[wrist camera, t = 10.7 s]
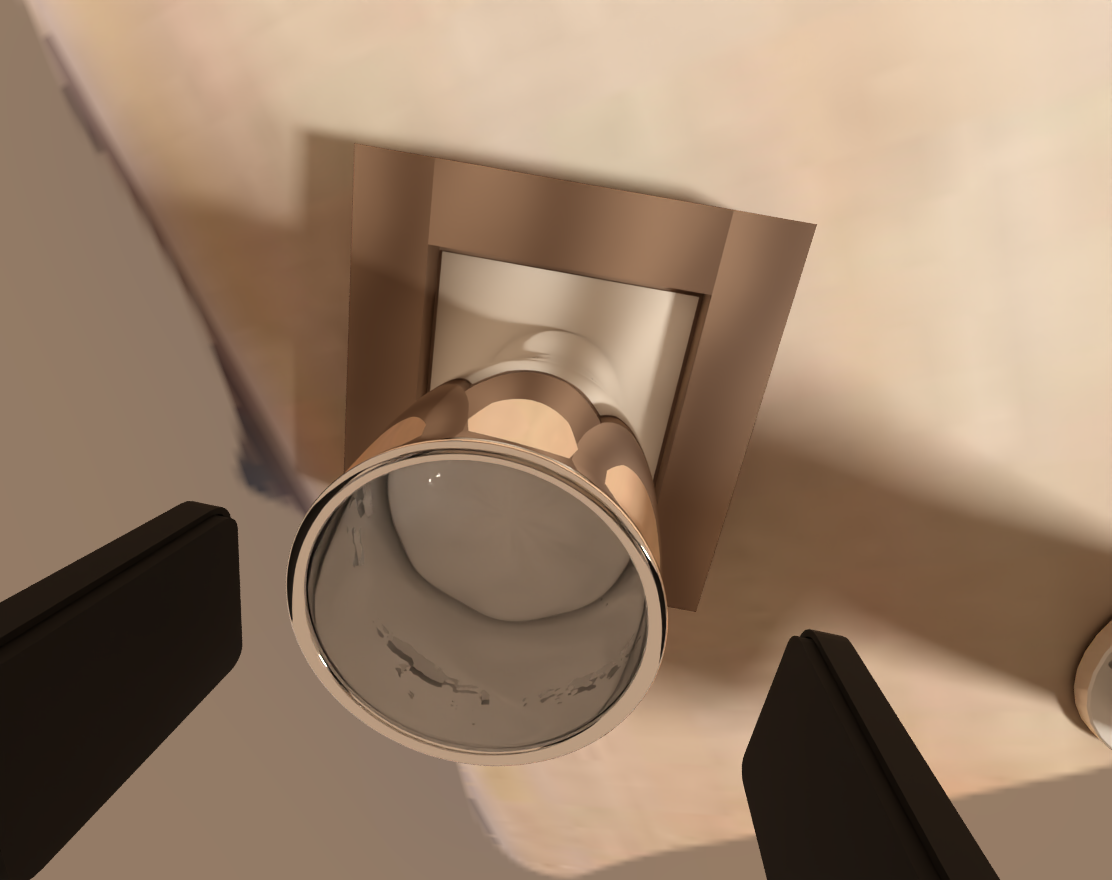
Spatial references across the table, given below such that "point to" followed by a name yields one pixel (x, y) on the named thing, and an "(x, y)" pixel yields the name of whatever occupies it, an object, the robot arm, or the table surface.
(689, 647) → the table surface
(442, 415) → the beer glass
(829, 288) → the table surface
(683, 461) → the frame
